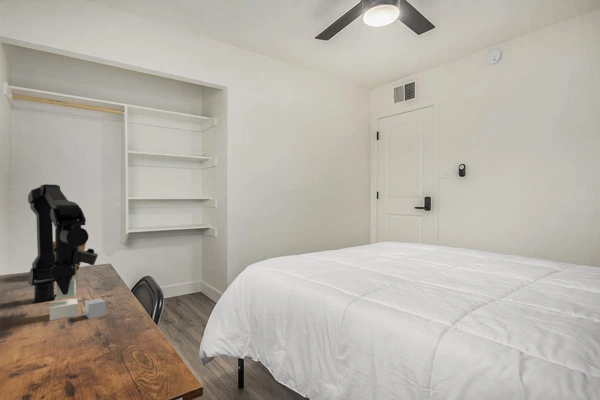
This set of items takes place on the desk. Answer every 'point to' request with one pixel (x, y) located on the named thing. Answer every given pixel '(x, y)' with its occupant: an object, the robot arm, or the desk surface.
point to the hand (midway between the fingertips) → (66, 292)
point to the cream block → (63, 309)
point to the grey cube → (94, 308)
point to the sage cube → (70, 291)
